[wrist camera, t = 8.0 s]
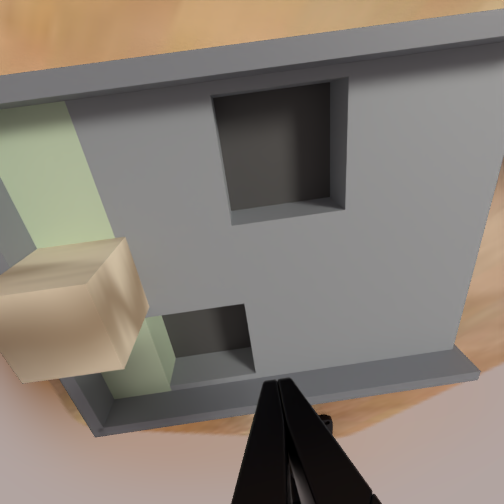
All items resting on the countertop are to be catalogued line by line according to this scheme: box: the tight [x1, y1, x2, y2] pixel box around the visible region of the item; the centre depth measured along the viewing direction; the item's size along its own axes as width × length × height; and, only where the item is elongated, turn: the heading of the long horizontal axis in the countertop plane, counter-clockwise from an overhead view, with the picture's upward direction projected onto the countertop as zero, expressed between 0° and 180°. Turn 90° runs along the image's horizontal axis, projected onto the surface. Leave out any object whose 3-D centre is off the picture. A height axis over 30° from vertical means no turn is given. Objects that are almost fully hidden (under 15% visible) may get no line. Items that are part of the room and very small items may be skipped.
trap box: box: [0, 9, 504, 437], centre depth 16 cm, size 20×25×5 cm
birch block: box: [0, 237, 149, 384], centre depth 14 cm, size 4×4×4 cm
